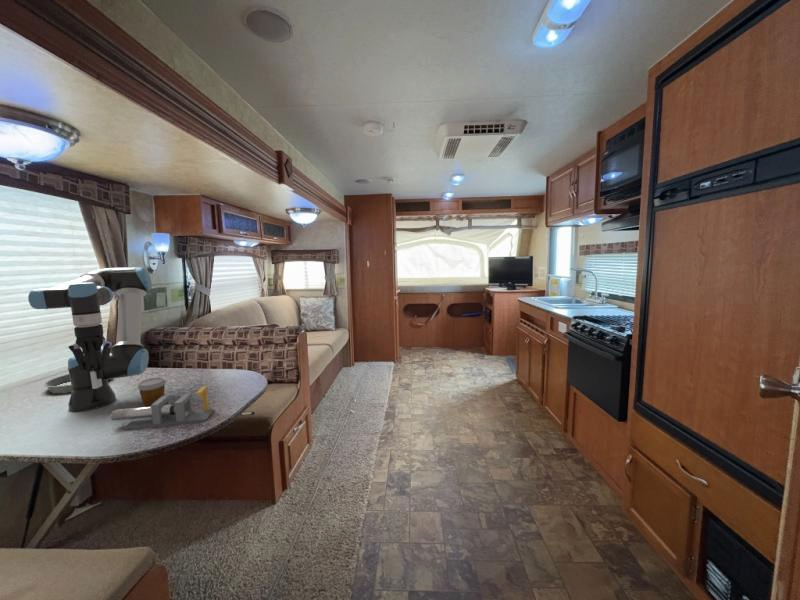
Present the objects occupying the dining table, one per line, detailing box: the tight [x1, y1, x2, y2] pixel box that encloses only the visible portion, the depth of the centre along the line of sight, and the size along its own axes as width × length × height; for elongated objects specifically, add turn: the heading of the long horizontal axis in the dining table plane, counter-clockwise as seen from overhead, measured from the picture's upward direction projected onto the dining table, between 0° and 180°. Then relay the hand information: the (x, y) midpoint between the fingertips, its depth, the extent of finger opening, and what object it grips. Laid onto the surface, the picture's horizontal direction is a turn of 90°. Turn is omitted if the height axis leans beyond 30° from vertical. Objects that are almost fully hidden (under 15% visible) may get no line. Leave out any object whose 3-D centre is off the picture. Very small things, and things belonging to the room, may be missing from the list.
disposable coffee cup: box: [137, 377, 166, 407], centre depth 137 cm, size 10×10×12 cm
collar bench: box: [122, 385, 215, 431], centre depth 127 cm, size 28×9×11 cm, turn 101°
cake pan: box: [44, 373, 72, 394], centre depth 166 cm, size 25×25×4 cm
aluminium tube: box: [110, 403, 176, 422], centre depth 125 cm, size 22×4×4 cm, turn 101°
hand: (97, 387), depth 121 cm, fingers closed
